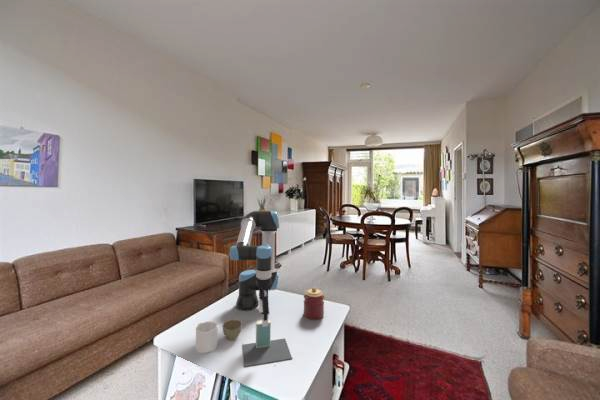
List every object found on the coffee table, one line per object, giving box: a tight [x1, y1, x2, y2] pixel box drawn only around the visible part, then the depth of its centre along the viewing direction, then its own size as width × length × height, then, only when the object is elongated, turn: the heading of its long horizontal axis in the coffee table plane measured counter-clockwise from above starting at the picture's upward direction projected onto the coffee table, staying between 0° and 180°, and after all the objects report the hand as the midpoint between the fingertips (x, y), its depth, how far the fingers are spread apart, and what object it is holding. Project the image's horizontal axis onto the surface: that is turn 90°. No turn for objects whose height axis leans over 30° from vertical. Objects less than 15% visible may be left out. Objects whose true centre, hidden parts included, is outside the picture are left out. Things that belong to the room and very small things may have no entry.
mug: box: [195, 321, 218, 354], centre depth 122 cm, size 13×10×10 cm
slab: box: [255, 318, 272, 348], centre depth 123 cm, size 3×7×12 cm, turn 105°
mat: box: [242, 338, 293, 368], centre depth 118 cm, size 16×22×1 cm
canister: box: [303, 286, 325, 321], centre depth 155 cm, size 13×13×18 cm
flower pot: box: [222, 319, 243, 341], centre depth 130 cm, size 10×10×7 cm
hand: (263, 318), depth 123 cm, fingers open, 13 cm apart
